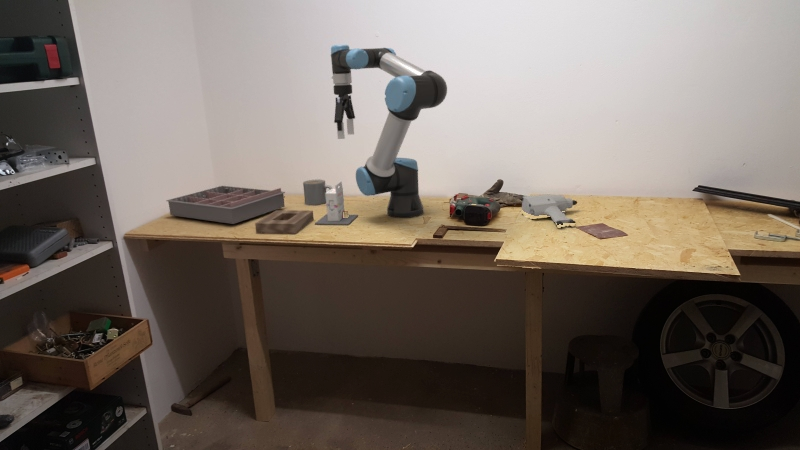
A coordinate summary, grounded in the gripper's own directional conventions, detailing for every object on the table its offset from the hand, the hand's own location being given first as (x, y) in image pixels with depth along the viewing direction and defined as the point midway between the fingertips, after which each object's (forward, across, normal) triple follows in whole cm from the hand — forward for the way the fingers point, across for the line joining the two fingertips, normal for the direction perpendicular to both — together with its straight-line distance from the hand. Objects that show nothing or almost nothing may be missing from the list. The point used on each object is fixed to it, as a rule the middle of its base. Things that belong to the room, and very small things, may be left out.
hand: (346, 136), depth 246 cm
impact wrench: (+32, +11, +87) cm, 94 cm away
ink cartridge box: (+31, +17, -1) cm, 36 cm away
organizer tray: (+32, +8, -54) cm, 63 cm away
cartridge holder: (+32, +27, -19) cm, 46 cm away
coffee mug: (+32, -12, -19) cm, 39 cm away
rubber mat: (+32, +17, -1) cm, 36 cm away
